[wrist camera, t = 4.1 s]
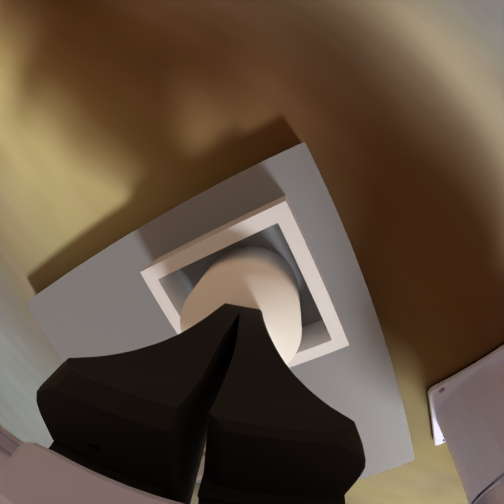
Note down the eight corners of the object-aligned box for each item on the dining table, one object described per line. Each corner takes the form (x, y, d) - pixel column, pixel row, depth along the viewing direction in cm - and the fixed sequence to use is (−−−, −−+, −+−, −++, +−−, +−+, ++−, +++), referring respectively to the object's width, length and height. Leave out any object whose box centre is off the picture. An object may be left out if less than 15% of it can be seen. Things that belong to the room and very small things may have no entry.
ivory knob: (273, 229, 13) (268, 253, 10) (313, 312, 14) (319, 357, 10) (187, 268, 14) (158, 302, 11) (231, 343, 15) (217, 389, 11)
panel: (302, 144, 13) (308, 137, 10) (410, 446, 18) (420, 477, 15) (38, 294, 18) (7, 314, 14) (204, 492, 23) (197, 518, 19)
